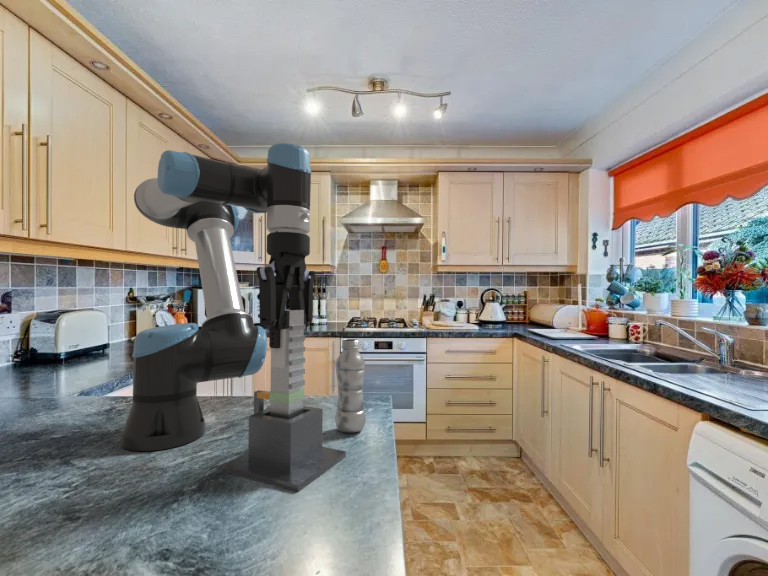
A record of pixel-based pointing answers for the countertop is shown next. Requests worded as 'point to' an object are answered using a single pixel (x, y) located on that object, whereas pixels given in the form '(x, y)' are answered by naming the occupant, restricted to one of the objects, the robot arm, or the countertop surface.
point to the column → (289, 371)
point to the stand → (284, 448)
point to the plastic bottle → (350, 388)
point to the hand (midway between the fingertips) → (287, 364)
